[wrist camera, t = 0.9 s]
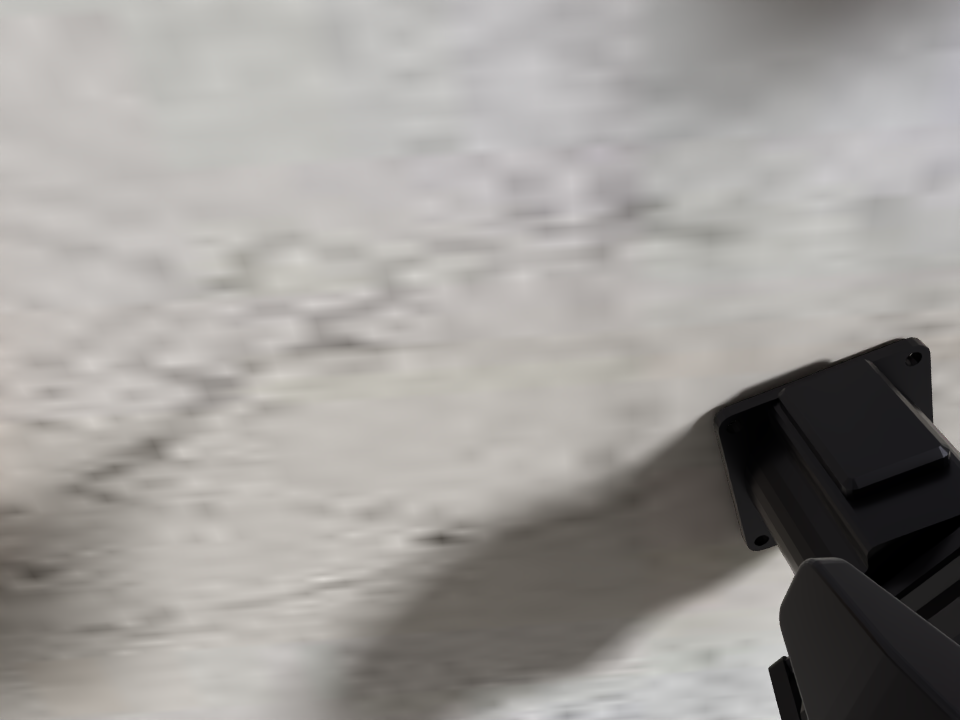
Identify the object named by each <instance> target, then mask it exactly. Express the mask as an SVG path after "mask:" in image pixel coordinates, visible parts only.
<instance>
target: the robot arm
mask: <svg viewBox="0 0 960 720" xmlns="http://www.w3.org/2000/svg"><path fill="white" fill-rule="evenodd" d="M910 354H911V356H909V355H910ZM908 356H909V357H908ZM732 421H735V422H734V423H733V424H731V425H728V424H729V423H731V422H732ZM714 428H715V432H716V436H717V440H718V444H719V448H720V451H721V455H722V459H723V463H724V467H725V471H726V475H727V479H728V483H729V486H730V490H731V494H732V498H733V502H734V506H735V510H736V514H737V517H738V521H739V525H740V529H741V533H742V537H743V539H744V541H745V542H746V544H747V546H748V548H749V549H751V550H753V551H760V550H764V549H767V548H770V547H772V546H775V545H778V547H779V549H780V550H781V552H782V554H783V556H784V557H785V559H786V561H787V562H788V564H789V566H790V567H791V569H792V571H793V573H794V574H795V576H794V578H793V581H792V583H791V585H790V587H789V589H788V591H787V593H786V595H785V597H784V599H783V602H782V604H781V607H780V613H779V621H780V628H781V632H782V635H783V638H784V642H785V645H786V648H787V652H788V655H789V657H786V656H783V657H781V658H780V659H779V660H778V661H776V662H775V663H774V664H772V665H771V666H770V667H769V668H768V669H769V674H770V678H771V682H772V685H773V689H774V693H775V697H776V701H777V705H778V708H779V712H780V716H781V720H960V453H959V451H958V450H957V449H956V448H955V447H954V446H953V445H952V444H951V443H950V442H949V441H948V440H947V438H946V437H945V436H944V435H943V434H942V433H941V432H940V431H939V430H938V429H937V428H936V426H935V425H934V424H933V407H932V383H931V358H930V351H929V348H928V347H927V346H926V345H925V344H924V343H923V342H922V341H920V340H919V339H918V338H913V337H911V338H907V339H903V340H901V341H898V342H896V343H893V344H890V345H888V346H885V347H883V348H880V349H877V350H875V351H872V352H869V353H867V354H864V355H862V356H859V357H856V358H854V359H851V360H848V361H846V362H843V363H841V364H838V365H835V366H833V367H830V368H827V369H825V370H822V371H820V372H817V373H814V374H812V375H809V376H806V377H804V378H801V379H799V380H796V381H793V382H791V383H788V384H785V385H783V386H780V387H778V388H775V389H772V390H770V391H767V392H764V393H762V394H759V395H757V396H754V397H751V398H749V399H746V400H743V401H741V402H738V403H736V404H733V405H730V406H728V407H726V408H724V409H722V410H720V411H719V412H718V413H717V414H716V416H715V418H714Z"/></svg>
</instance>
